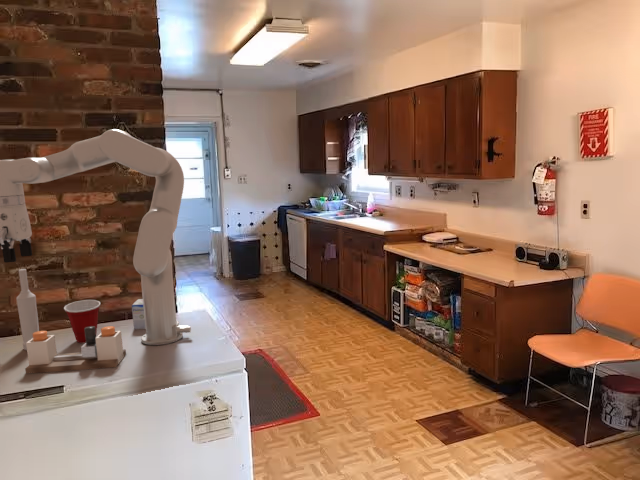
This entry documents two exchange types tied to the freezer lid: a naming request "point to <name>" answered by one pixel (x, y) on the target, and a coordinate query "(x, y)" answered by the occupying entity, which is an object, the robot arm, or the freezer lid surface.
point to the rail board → (72, 363)
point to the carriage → (89, 343)
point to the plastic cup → (82, 317)
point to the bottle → (27, 309)
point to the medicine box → (138, 315)
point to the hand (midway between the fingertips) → (18, 258)
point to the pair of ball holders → (47, 351)
